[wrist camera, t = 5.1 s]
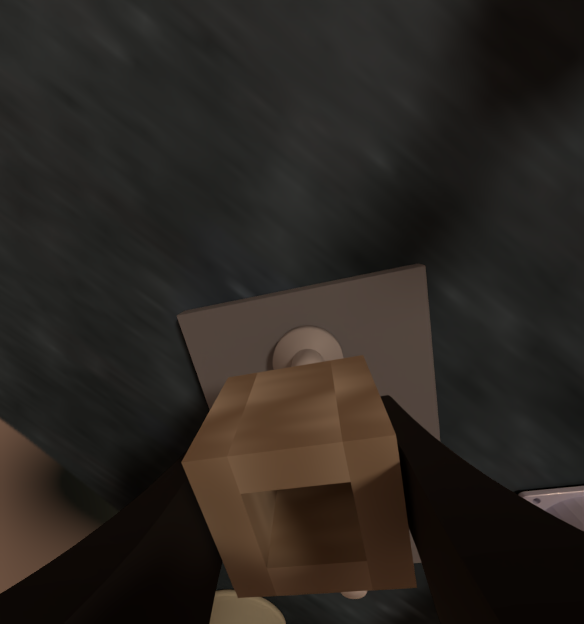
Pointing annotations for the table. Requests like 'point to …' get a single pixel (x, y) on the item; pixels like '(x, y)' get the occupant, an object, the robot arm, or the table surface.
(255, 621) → the can
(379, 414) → the ash collar
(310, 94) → the table surface
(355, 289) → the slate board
